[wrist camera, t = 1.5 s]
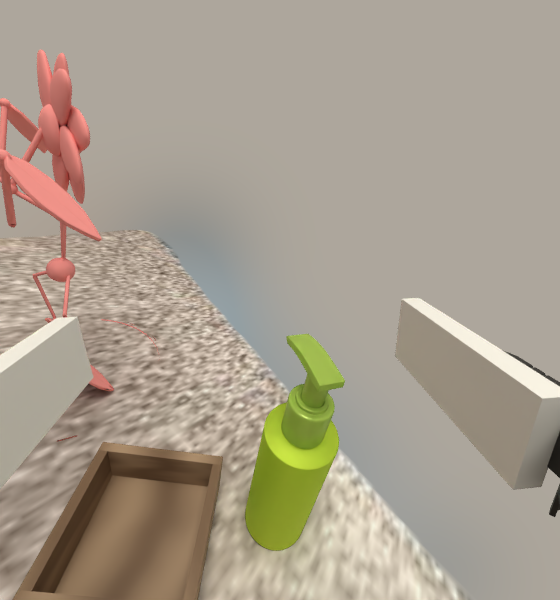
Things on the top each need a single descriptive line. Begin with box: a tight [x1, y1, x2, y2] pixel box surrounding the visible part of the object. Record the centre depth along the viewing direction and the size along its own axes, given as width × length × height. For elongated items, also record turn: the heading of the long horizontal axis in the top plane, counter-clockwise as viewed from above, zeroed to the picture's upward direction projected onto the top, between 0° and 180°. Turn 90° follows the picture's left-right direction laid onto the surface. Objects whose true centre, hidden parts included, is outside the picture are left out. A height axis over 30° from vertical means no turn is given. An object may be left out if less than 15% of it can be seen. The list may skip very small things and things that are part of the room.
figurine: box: [0, 50, 160, 442], centre depth 35 cm, size 15×26×35 cm, turn 43°
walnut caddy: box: [13, 442, 223, 600], centre depth 25 cm, size 11×11×5 cm
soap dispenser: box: [245, 334, 345, 550], centre depth 26 cm, size 6×7×20 cm
